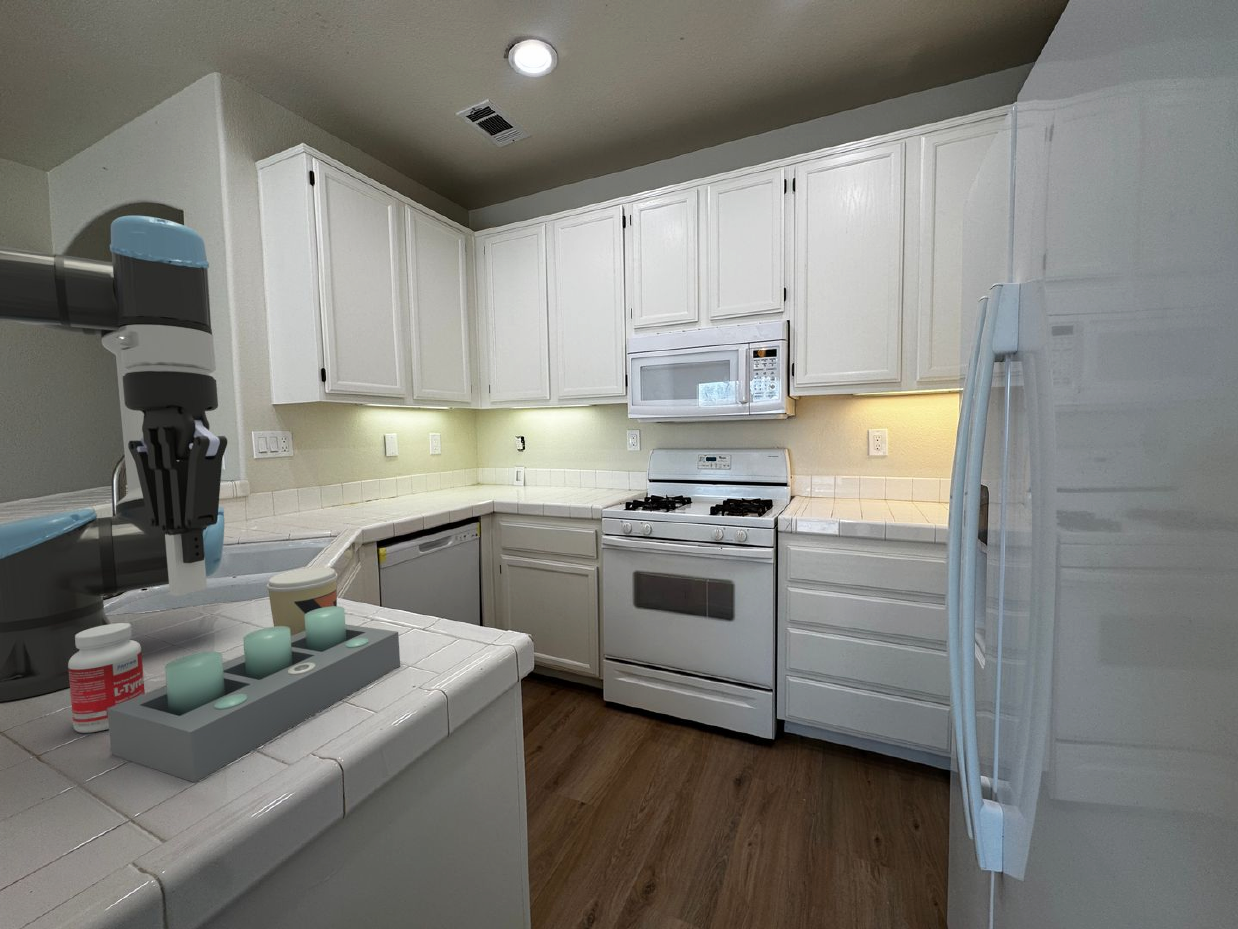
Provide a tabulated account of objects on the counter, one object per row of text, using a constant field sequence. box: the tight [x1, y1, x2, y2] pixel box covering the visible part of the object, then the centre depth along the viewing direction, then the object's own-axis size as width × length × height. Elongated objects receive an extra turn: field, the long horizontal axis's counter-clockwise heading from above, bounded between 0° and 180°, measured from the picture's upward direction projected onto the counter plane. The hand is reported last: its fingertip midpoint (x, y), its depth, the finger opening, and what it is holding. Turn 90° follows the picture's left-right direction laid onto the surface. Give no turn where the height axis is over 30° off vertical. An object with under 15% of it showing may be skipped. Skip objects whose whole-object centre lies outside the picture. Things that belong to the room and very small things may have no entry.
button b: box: [242, 626, 293, 680], centre depth 64 cm, size 5×5×5 cm
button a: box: [164, 650, 225, 716], centre depth 56 cm, size 5×5×5 cm
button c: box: [305, 605, 346, 652], centre depth 71 cm, size 5×5×5 cm
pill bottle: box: [68, 622, 146, 734], centre depth 61 cm, size 6×6×11 cm
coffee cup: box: [266, 566, 338, 636], centre depth 79 cm, size 9×9×12 cm
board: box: [107, 623, 401, 784], centre depth 63 cm, size 14×26×5 cm, turn 159°
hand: (188, 591), depth 55 cm, fingers closed
